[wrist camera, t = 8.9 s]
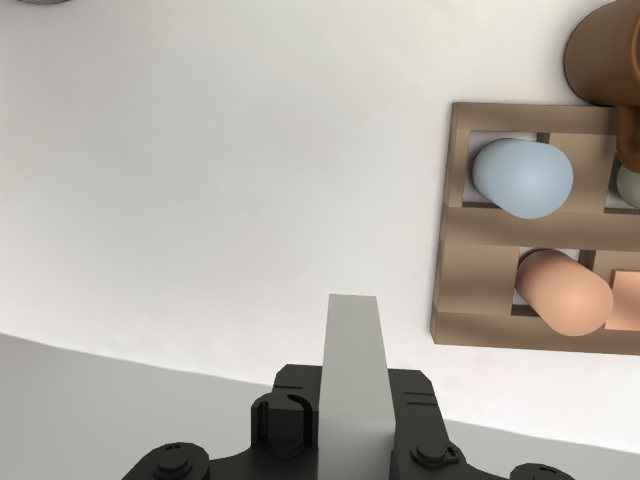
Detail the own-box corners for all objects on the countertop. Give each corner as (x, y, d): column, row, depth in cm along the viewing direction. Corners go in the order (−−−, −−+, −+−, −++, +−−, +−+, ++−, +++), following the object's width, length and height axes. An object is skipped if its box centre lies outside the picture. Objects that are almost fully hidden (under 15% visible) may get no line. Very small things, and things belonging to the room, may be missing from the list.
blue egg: (476, 136, 37) (500, 141, 31) (542, 139, 37) (579, 144, 31) (468, 201, 38) (490, 217, 33) (533, 204, 38) (566, 220, 32)
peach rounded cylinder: (519, 247, 41) (548, 270, 35) (580, 250, 40) (619, 274, 35) (511, 303, 42) (537, 334, 36) (570, 306, 42) (606, 338, 36)
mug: (636, 166, 39) (722, 182, 30) (541, 159, 40) (599, 174, 31) (673, 5, 36) (782, -30, 27) (571, -1, 37) (645, -38, 28)
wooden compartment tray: (452, 102, 39) (461, 102, 36) (710, 111, 38) (741, 111, 35) (429, 331, 44) (435, 347, 41) (656, 343, 43) (679, 360, 40)
